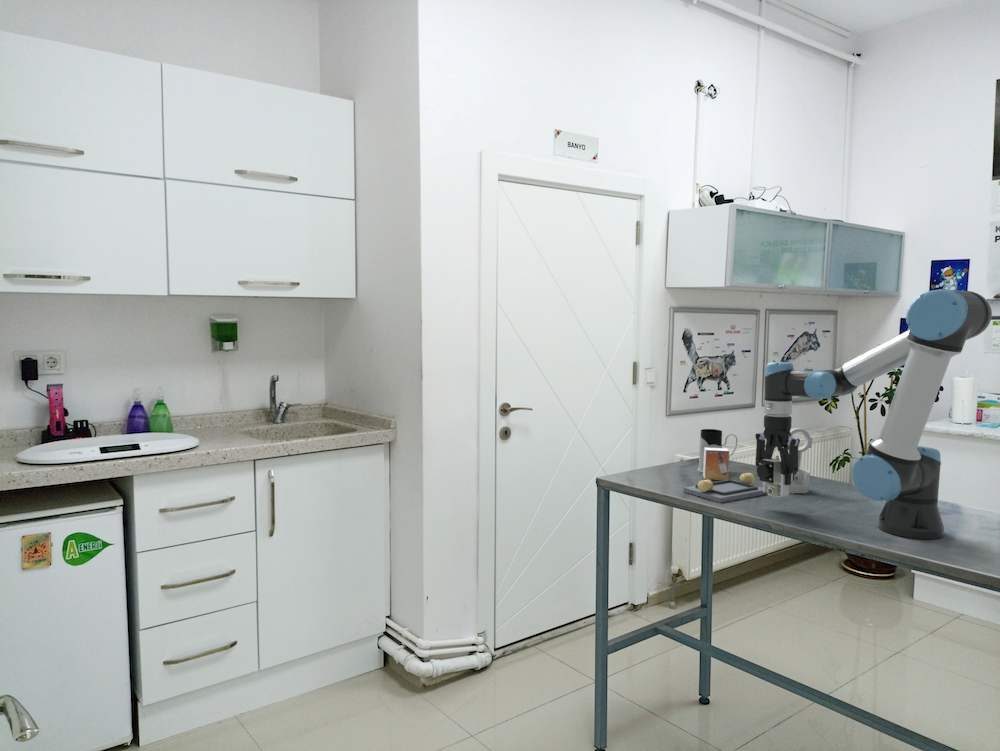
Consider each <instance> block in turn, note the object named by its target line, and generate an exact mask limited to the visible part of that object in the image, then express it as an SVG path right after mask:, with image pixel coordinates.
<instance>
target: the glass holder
mask: <svg viewBox="0 0 1000 751" xmlns="http://www.w3.org/2000/svg"><path fill="white" fill-rule="evenodd" d="M730 436H733V437H735V445H734V448H733V450H732V452H731V453H729V458H731V457H732V456H733V455H734V453H735V451H736V450H737V446H738V437H737V436H736V435H735V434H733V433H729V434H727V435H726V436H725V439H724V444H722V442H723V431H722V430H720V429H716V428H715V429H714V428H704V429H700V437H699V456H698V457H699V458H698V468H697V471H698V472H699V471H700V473H702V472H703V464H704V447H707V448H723V447H724V446H726V445H727V440H728V438H729V437H730Z"/></svg>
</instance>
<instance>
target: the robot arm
mask: <svg viewBox="0 0 1000 751" xmlns="http://www.w3.org/2000/svg"><path fill="white" fill-rule="evenodd" d="M992 315H993V312H992V308H991V304H990V302H989V301H988V299H986V298H985V297H984V296H983V295H981V294H979V293H977V292H975V291H971V290H957V289H946V288H939V289H935V290H934V289H932V290H929V291H925V292H924V293H921V294H920V295H918V296H916V298H914V299H913V301H912V302H911V303H910V304H909V306H908V308H907V311H906V315H905V321H906V324H907V326H908V330H906V331H904V332H902V333H900V334H898V335H897V336H894V337H893V338H891V339H888V340H886V341H885V342H883V343H880V344H879V345H877V346H875V347H873V348H871V349H869V350H867V351H866V352H863V353H862V354H860V355H858V356H856V357H854V358H851V359H850V360H848V361H846V362H845V363H843V364H841V365H839V366H837V367H834V368H833V369H822V370H819V369H818V370H817V369H816V370H799V369H794V364H793V363H792V362H787V361H784V362H783V361H770V362H768V363H766V366H765V372H764V407H763V408H764V410H763V411H764V414H765V415H764V416H763V427H764V431H763V432H760V433H759V432H758V433H755V435H754V436H755V440H756V447H755V448H756V450H755V466H756V467H758V466H759V465H760V464H759V463H760V460H761V459H771V458H773V456H774V455H773V454H774V451H775V449H777V451H778V452H779V458H781V462H782V467H783V473H782V474H781V492H780V496H785V497H786V496H787V497H788V496H789V494H790V493H789V485H791V474H792V473H795V472H798V449H799V445H800V442H801V440H800V438H795V437H793V435H792V436H791V433H790V430H791V429H792V420H793V419H792V416H791V415H792V414H793V397H799V398H800V397H801V398H810V399H813V400H820V399H823V400H824V399H825V400H826V399H827V400H828V399H829V398H830V397H836V396H837V397H838V396H840V397H842V396H846V395H850V394H853V393H854V392H856V391H857V388H859V387H861V386H862V385H864V384H867V383H868V382H871V381H873V380H875V379H877V378H880V377H881V376H884V375H886V374H888V373H890V372H892V371H894V370H896V369H897V368H900V367H902V366H904V367H903V369H902V373H901V375H900V378H899V381H898V383H897V385H896V386H897V387H896V388H895V391H894V394H893V396H892V397H893V398H892V400H891V402H890V404H889V408H888V411H887V414H886V416H885V419H884V422H883V424H882V425H883V426H882V428H881V430H880V434H879V435H878V437H876V438H873V439H871V440H870V442H869V445H868V447H867V450H866V453H865V454H864V455H862V456H860V457H859V458H857V460H856V461H855V462H854V463H853V465H852V468H851V478H852V481H853V483H854V485H855V486H856V489H857V490H858V491H859V492H860V494H862V495H863V496H864V497H866V498H867V499H870V500H873V501H876V502H883V501H884V502H885V503H884V504H883V507H882V509H881V512H880V513H879V516H878V519H877V520H878V522H877V527H878V528H879V530H881V531H882V532H883V531H884V532H886V533H888V534H892V535H895V536H900V537H902V538H903V537H904V538H911V539H920V540H921V539H922V540H935V539H936V540H937V539H941V538H943V537H944V534H945V526H944V522H943V520H942V519H943V518H942V516H941V513H940V510H939V506H938V504H939V501H938V500H939V488H940V477H941V476H940V474H941V465H942V460H941V452H940V451H939V450H938V449H937V448H933V447H927V446H921V445H919V443H920V441H921V438H922V435H923V433H924V430H925V427H926V424H927V422H928V419H929V417H930V414H931V412H932V408H934V405H935V401H936V398H937V397H938V396H937V395H938V393H939V391H940V387H941V386H942V382H943V380H944V377H945V375H946V373H947V370H948V367H949V365H950V361H951V359H952V358H953V357H955V356H957V355H960V354H961V353H962V352H963V349H964V346H965V343H966V341H968V340H970V339H973V338H975V337H977V336H979V335H981V334H982V333H983V332H984V331H986V330H987V328H988V327H989V325H990V324H991V320H992V318H993V316H992ZM788 441H789V444H790V445H789V447H788ZM769 484H772V483H768V482H764V481H762V487H763V492H767V489H768V488H769V487H768V485H769Z"/></svg>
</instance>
